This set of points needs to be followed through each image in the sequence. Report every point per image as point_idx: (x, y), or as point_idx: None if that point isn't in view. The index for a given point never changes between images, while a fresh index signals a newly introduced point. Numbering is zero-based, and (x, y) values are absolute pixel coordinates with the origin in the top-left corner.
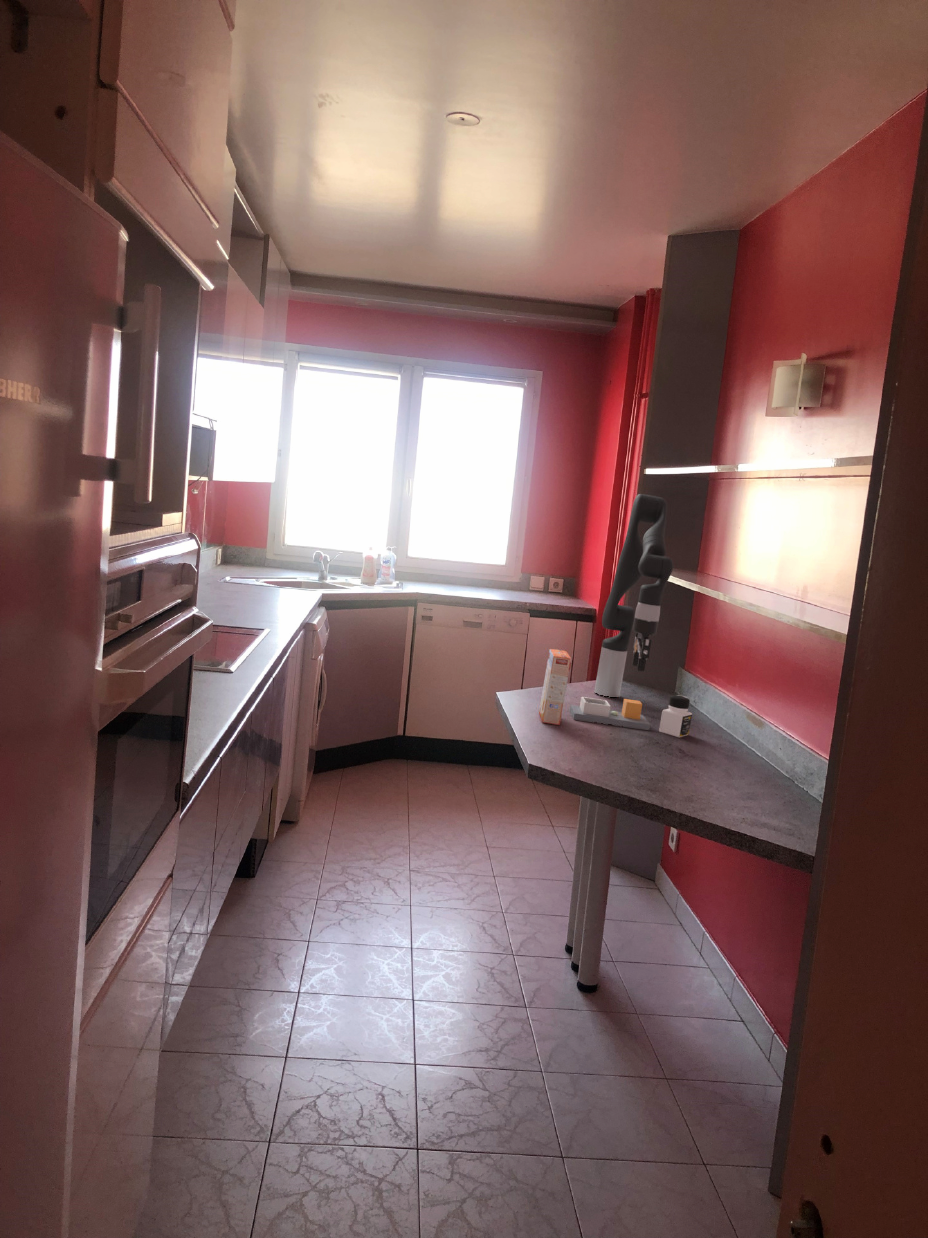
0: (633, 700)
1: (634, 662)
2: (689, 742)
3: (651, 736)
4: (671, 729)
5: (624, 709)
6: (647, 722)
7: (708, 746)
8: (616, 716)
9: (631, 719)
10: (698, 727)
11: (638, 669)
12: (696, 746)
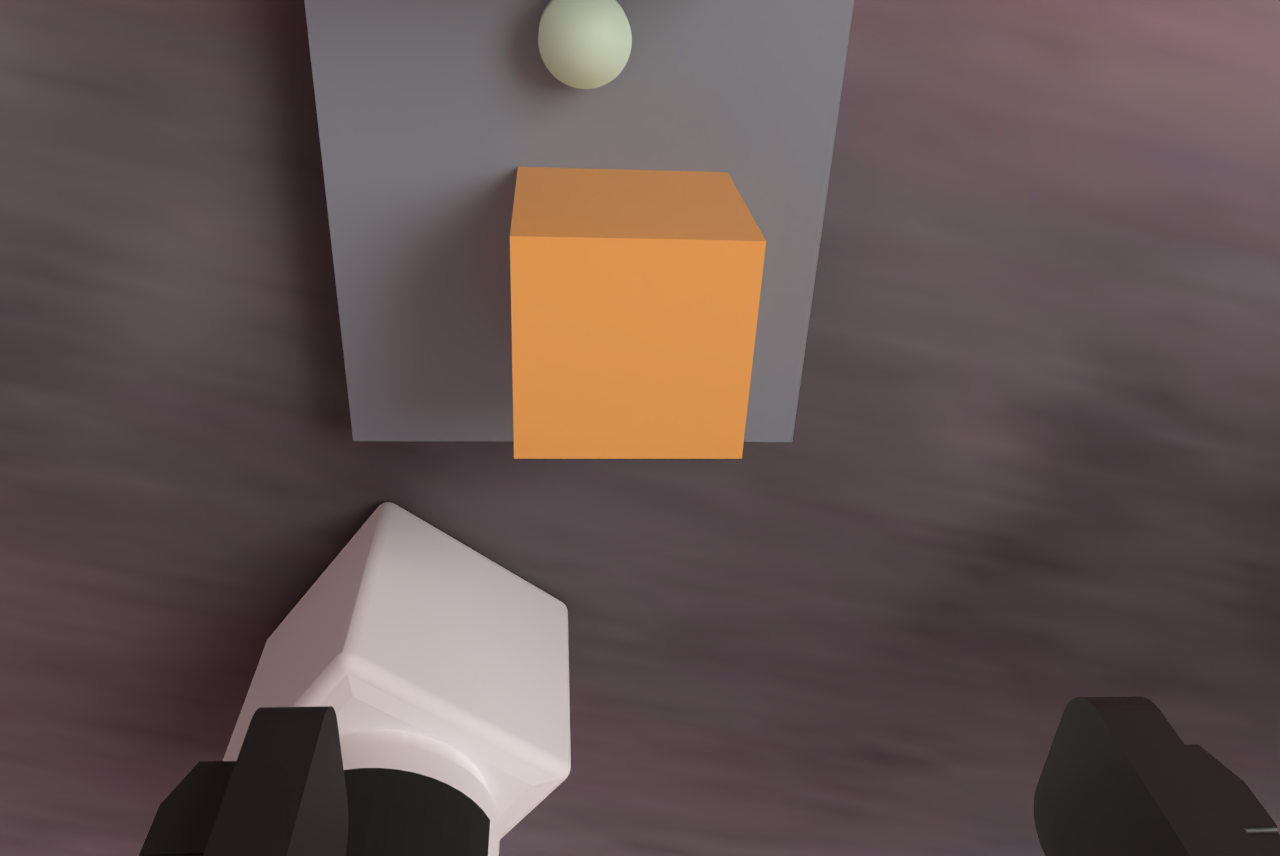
0: (714, 375)
1: (1105, 786)
2: (147, 689)
3: (90, 377)
4: (299, 618)
5: (583, 195)
6: (428, 425)
7: (129, 802)
8: (503, 53)
9: (458, 250)
10: (795, 842)
11: (262, 738)
12: (34, 717)
